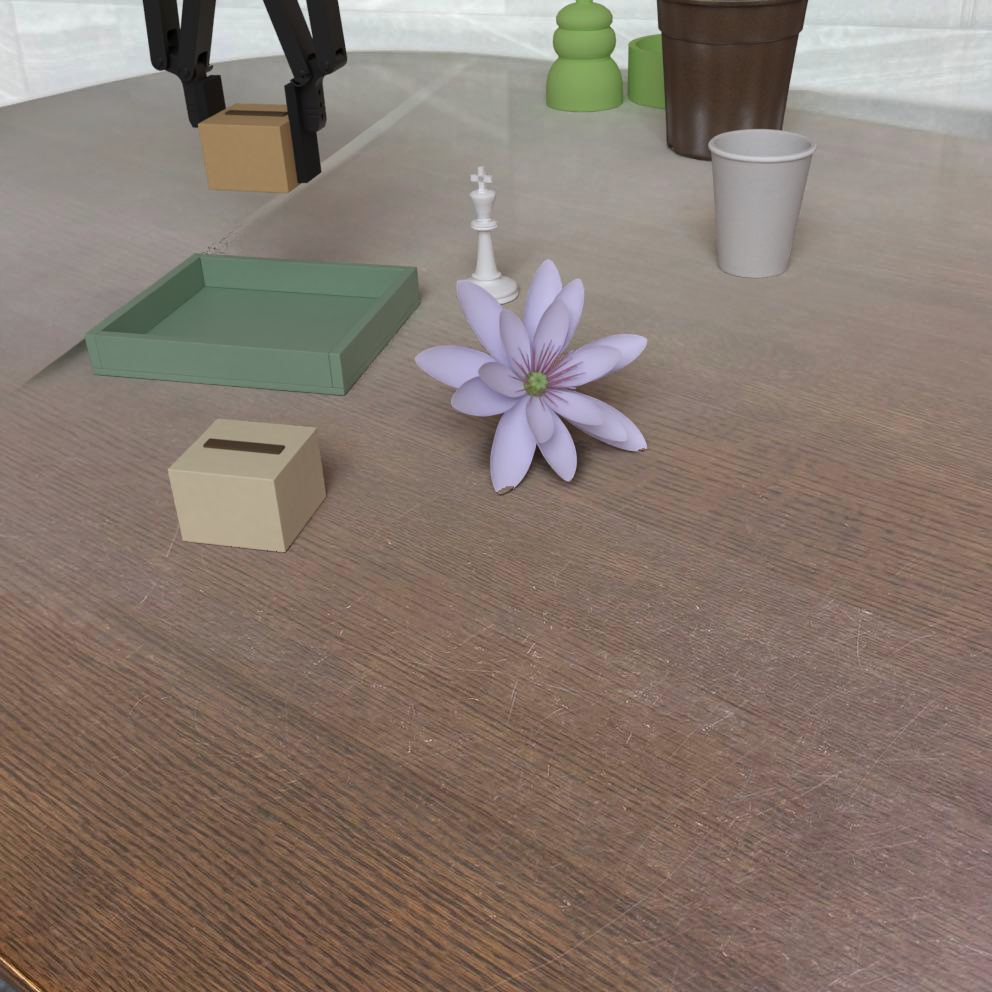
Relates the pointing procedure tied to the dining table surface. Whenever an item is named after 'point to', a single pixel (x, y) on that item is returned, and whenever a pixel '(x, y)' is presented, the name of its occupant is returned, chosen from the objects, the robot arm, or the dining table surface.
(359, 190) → the dining table surface
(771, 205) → the dixie cup
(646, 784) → the dining table surface
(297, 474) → the beige slotted box
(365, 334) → the tray
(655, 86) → the green stacking toy
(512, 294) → the chess piece
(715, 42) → the plant pot
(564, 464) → the water lily
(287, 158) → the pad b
